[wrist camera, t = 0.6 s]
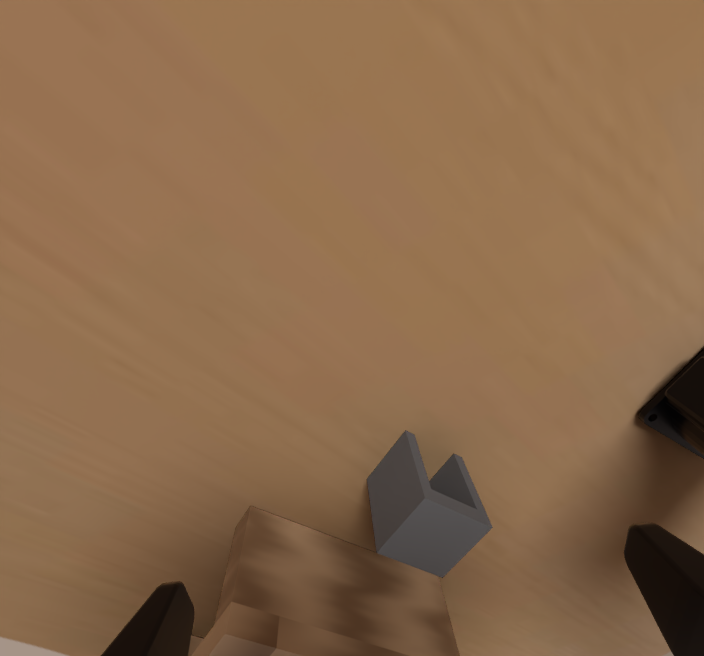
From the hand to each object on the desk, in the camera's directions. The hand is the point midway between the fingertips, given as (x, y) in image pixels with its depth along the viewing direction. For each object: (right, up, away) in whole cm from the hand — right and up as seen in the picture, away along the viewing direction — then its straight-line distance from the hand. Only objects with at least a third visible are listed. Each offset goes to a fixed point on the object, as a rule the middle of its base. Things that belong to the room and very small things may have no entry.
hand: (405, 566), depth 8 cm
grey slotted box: (+3, -3, +16) cm, 16 cm away
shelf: (-5, -15, +20) cm, 26 cm away
